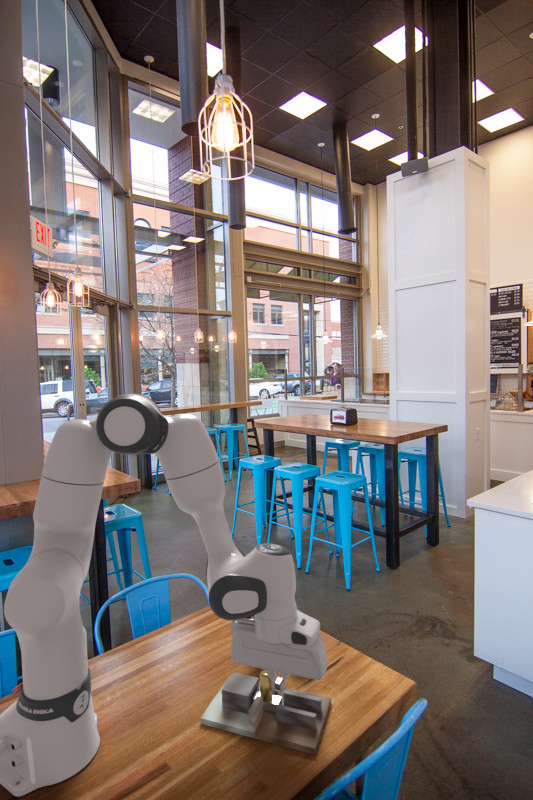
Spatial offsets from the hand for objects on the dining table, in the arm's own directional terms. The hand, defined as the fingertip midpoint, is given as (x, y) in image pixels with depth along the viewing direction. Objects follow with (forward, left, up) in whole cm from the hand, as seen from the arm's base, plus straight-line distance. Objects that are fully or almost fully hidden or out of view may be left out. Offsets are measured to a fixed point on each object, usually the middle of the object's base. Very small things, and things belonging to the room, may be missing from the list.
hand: (278, 689), depth 91 cm
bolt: (-6, 0, -4) cm, 7 cm away
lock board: (-3, 0, -6) cm, 6 cm away
